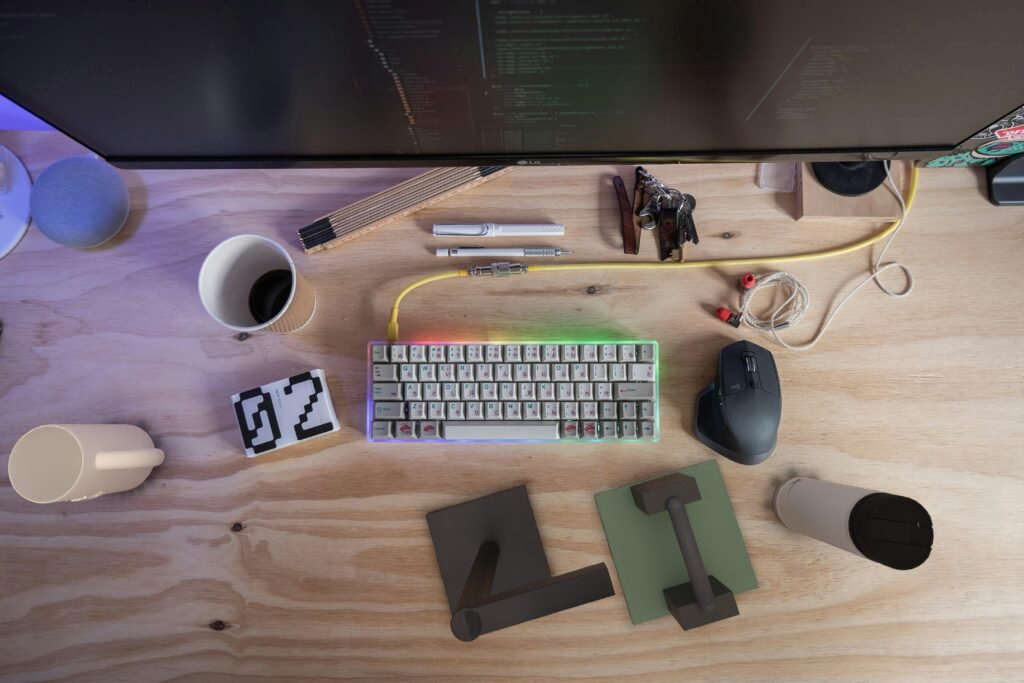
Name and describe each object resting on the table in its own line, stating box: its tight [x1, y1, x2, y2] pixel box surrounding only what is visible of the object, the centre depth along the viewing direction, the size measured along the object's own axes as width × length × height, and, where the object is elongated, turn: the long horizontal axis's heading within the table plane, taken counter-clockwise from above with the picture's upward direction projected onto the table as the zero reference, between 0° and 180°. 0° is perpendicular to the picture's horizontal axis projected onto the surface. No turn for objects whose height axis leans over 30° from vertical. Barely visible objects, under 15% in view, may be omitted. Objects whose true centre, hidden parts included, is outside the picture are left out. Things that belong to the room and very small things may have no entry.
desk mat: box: [594, 458, 760, 626], centre depth 70 cm, size 15×15×1 cm
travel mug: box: [772, 476, 935, 571], centre depth 60 cm, size 6×7×20 cm
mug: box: [7, 423, 166, 505], centre depth 67 cm, size 8×12×12 cm
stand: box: [425, 483, 616, 643], centre depth 57 cm, size 12×17×27 cm
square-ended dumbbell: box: [630, 472, 741, 632], centre depth 65 cm, size 14×6×8 cm, turn 16°
